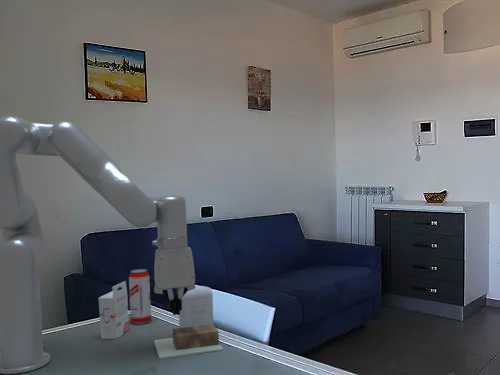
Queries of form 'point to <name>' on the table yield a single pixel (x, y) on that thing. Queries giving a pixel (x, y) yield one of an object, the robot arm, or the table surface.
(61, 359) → the table surface
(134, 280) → the red striped can
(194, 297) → the photo printer
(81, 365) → the table surface
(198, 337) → the slab
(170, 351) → the board
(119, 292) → the ink cartridge box
